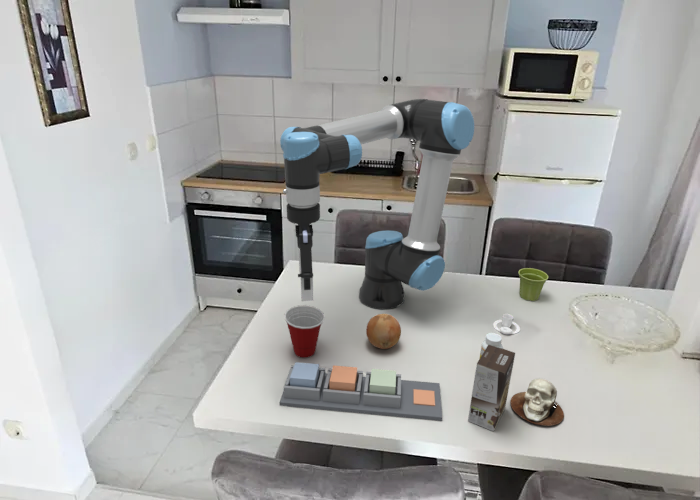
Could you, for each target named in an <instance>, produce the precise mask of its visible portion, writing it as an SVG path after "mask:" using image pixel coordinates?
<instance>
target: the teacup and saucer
mask: <svg viewBox="0 0 700 500" xmlns="http://www.w3.org/2000/svg"><path fill="white" fill-rule="evenodd" d="M499 323H501V327H500V328H499V327H498V324H499ZM512 325H513V326H514V327H515V331H513V329H511V326H512ZM492 327H493V328H494V329H495V330H496V331H497V332H500V333H501V334H504V335H515V334H518V333H519V332H520V331H521V326H520V325H519V324H518V323H516V322H515V321H514V316H513V314H509V313H503V314H502V318H501V319H496V320H495V321H493V322H492Z"/></svg>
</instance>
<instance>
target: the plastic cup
mask: <svg viewBox="0 0 700 500" xmlns="http://www.w3.org/2000/svg"><path fill="white" fill-rule="evenodd" d="M283 315H284V320H285V322H286V325H287V328H288V332H289V338H290V340H291V345H292V348H293V351H294V352H293V353H294V355H296V357H299V358H302V359H303V358H311V357H312V356H314V355H315V353H316V350H317V344H318V340H319V336H320V331H321V326H322V324H323V323H324V321H325V318H326V316H325V314H324V312H323V311H322V310H321V309H320V308H318V307H315V306H312V305H307V304H304V305H301V304H300V305H296V306H292V307H290V308H288V309H287V310H286V311H285V313H284V314H283Z"/></svg>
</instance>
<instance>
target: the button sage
mask: <svg viewBox="0 0 700 500" xmlns="http://www.w3.org/2000/svg"><path fill="white" fill-rule="evenodd" d="M370 372H371V379H370V391H369V393H374V394H385V395H395V388H396V374H397V370H393V369H392V370H391V369H381V368H379V369H378V368H371V370H370Z"/></svg>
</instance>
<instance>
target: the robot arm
mask: <svg viewBox="0 0 700 500" xmlns="http://www.w3.org/2000/svg"><path fill="white" fill-rule="evenodd" d="M474 120H475V119H474V116H473V113H472V112H471V110H470V109H469V108H468V106H466V105H463V104H461V103H457V102H454V101H451V102H450V101H441V100H433V99H425V98H417V99H416V98H415V99H410V100H405V101H404V100H403V101H401V102H397V103H392V104H387V105H384V106H383V107H382V108H381V109H380V110H379V111H374V112H369V113H365V114H361V115H360V114H359V115H358V116H357V115H356V116H353V117H348V118H347V117H346V118H344V119H338V120H334V121H330V122H326V123H322V124H318V125H314V126H313V125H312V126H307V127H300V126H289V127H287V128H285V130H284V131H283V132H282V134H281V135H280V140H279V144H280V148H281V150H282V152H283V154H282V156H283V164H284V179H285V189H283V190H282V193H283V194H285V197H286V198H285V200H286V203H287V204H286V218H287V221H288V222H290V223H292V224H295V225H294V226H295V237H296V240H297V241H296V243H297V248H298V267H299V270H298V271H299V273H297V278H300V293H301V294H300V295H301V302H309V301H314V273H313V256H312V255H313V254H312V247H313V246H314V245H313V244H314V243H313V241H314V240H313V236H314V228H313V223H314V224H315V223H316V222H318V221H319V220H320V219H321V205H320V203H319V202H321V190H320V188H321V187H320V185H321V183H320V175H321V174H322V175H323V174H327V173H330V172H336V171H341V170H347V169H349V168H353V167H355V166H358V164H359V163H360V162H361V160H362V157H363V147H362V145H364V144H368V143H371V142H372V143H373V142H375V141H378V140H383V139H386V138H387V139H389V140H397V139H410V140H413V141H414V140H415V141H417V142H419V146H418V149H419V151H420V152H421V154H422V159H421V164H420V165H421V166H420V169H419V170H420V171H419V174H418V180H417V186H416V190H415V191H416V192H415V198H414V201H413V207H412V211H411V218H410V222H409V229H408V233H407V236H406V237H403V233H401V232H399V231H396V230H379V231H375V232H372V233H370V234H368V236H367V237H366V241H365V246H364V247H365V249H364V253H365V254H364V255H365V257H364V258H365V259H364V278H363V281H362V284H361V286H360V288H359V291H358V299H359V301H360V302H361V303H362V304H363V305H365V306H367V307H370V308H371V309H379V310H389V309H395V308H397V307H400V306H401V305H403V303H404V301H405V290H404V286H403V284H405V285H408V286H409V288H412V289H416V290H419V291H422V292H423V291H424V292H425V291H428V290H430V289H432V288H433V287H434V286H436V284H438V283H439V281H440V280H441V278H442V277H443V275H444V272H445V268H446V261H445V259H444V257H442V256H441V255H440V252H441V245H440V244H439V243H438V235H439V231H440V228H441V227H440V226H441V222H442V215H443V211H444V208H445V207H444V206H445V202H446V197H447V193H448V188H449V183H450V177H451V173H452V169H453V163H454V161H455V159H457V158H459V157H460V156H461V151H462V150H464V149H466V148H467V147H468V146H470V143H471V142H472V140H473V137H474V134H475V121H474Z"/></svg>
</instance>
